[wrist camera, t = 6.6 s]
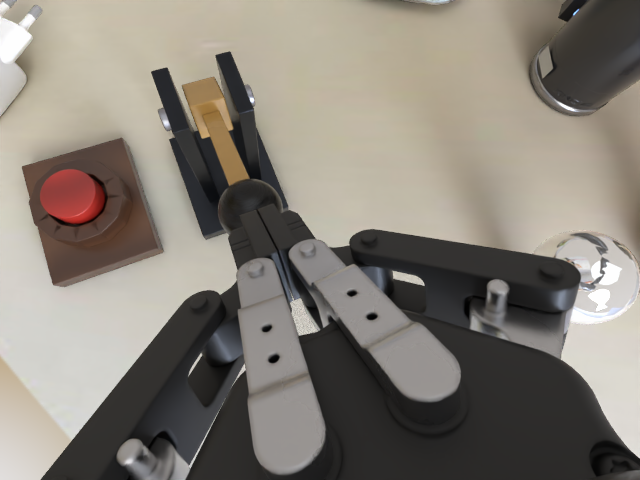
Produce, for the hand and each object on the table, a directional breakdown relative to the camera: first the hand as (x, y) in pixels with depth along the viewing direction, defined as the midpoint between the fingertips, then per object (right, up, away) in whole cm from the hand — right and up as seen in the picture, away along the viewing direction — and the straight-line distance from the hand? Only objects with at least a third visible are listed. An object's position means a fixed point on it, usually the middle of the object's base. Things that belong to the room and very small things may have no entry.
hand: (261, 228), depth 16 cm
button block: (-17, +2, +18) cm, 25 cm away
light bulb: (+21, -5, +20) cm, 30 cm away
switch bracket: (-6, +5, +20) cm, 21 cm away
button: (-17, +3, +15) cm, 23 cm away
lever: (-3, +4, +7) cm, 8 cm away
